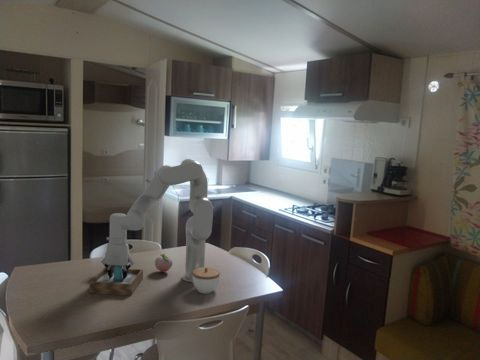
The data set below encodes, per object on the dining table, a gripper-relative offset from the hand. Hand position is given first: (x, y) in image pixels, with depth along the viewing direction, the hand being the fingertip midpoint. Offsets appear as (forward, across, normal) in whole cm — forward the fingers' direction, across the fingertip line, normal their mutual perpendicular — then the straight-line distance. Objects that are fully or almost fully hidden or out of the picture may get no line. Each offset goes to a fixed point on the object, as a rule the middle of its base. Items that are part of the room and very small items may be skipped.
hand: (117, 277), depth 181 cm
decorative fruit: (+4, +17, +20) cm, 26 cm away
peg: (+4, 0, 0) cm, 4 cm away
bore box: (+4, 0, 0) cm, 4 cm away
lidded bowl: (+4, +41, 0) cm, 41 cm away
